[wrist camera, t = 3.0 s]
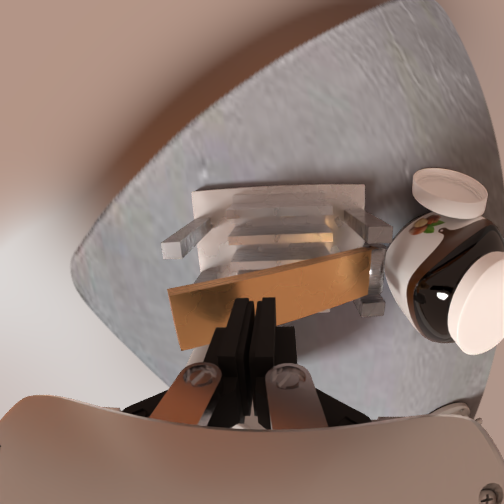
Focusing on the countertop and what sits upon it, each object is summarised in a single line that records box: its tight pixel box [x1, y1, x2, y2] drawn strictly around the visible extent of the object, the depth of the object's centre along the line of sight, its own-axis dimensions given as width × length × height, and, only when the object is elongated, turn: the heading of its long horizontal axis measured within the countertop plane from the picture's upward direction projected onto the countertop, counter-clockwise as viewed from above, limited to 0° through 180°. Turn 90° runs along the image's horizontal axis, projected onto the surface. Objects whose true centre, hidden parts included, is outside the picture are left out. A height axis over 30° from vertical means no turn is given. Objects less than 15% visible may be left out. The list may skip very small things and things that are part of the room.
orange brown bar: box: [167, 243, 386, 351], centre depth 15 cm, size 13×3×2 cm, turn 93°
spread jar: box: [385, 168, 504, 355], centre depth 17 cm, size 12×11×12 cm
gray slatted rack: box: [161, 184, 393, 317], centre depth 20 cm, size 14×10×8 cm
